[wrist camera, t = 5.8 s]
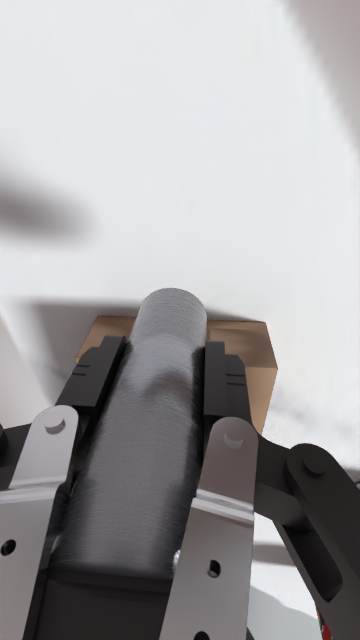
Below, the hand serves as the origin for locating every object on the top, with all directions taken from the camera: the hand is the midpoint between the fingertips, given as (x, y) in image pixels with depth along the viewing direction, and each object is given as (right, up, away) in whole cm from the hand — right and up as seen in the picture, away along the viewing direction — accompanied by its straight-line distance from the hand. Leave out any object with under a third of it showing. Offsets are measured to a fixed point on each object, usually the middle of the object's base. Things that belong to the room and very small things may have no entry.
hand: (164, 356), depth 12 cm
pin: (0, +2, +2) cm, 3 cm away
